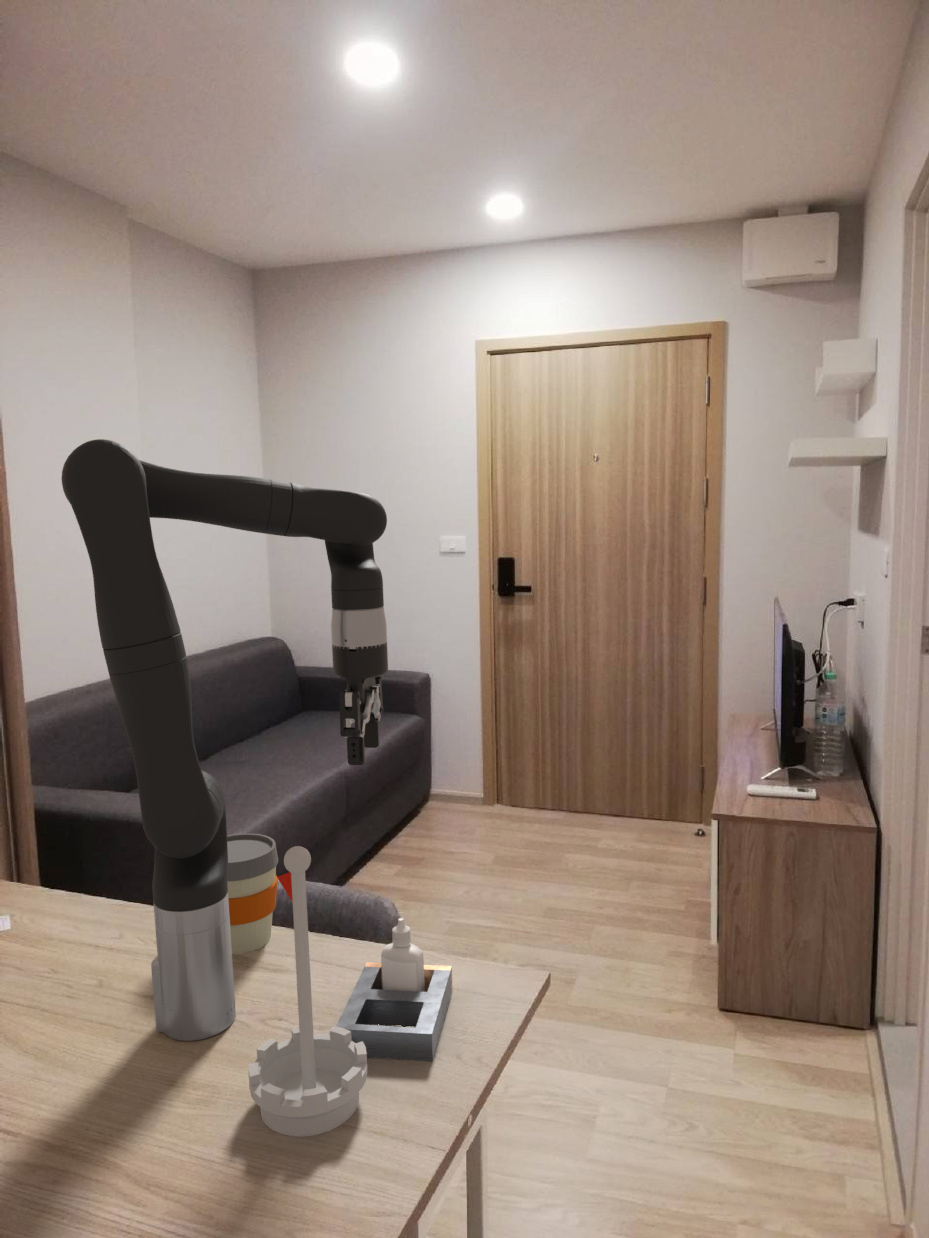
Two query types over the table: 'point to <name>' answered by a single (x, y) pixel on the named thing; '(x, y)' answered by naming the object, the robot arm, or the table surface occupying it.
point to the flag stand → (306, 1046)
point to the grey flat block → (398, 1014)
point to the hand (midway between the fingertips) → (364, 755)
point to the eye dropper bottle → (402, 962)
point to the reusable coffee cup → (251, 890)
